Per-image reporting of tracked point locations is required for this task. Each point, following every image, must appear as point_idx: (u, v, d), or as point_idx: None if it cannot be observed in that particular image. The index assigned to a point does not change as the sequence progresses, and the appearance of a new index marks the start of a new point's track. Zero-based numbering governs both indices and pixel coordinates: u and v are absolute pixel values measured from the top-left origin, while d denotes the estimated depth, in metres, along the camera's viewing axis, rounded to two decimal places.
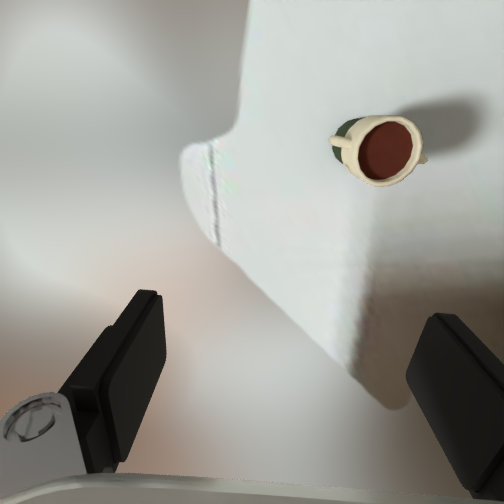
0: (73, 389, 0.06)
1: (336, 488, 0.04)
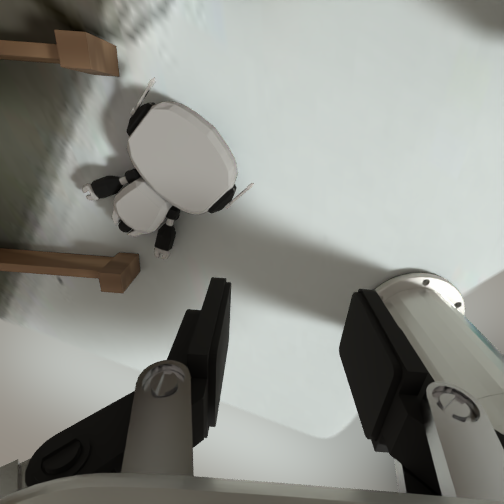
0: (189, 357, 0.07)
1: (336, 488, 0.04)
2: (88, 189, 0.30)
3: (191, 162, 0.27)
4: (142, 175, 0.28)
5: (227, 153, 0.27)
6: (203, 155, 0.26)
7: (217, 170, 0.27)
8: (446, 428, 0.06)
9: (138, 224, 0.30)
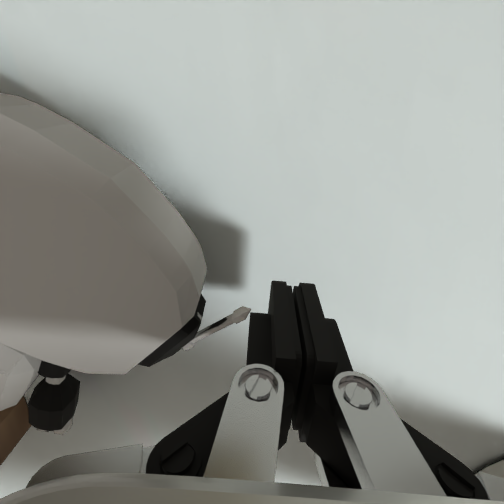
0: (277, 361, 0.07)
1: (336, 488, 0.04)
2: None
3: (63, 272, 0.09)
4: None
5: (171, 240, 0.09)
6: (95, 254, 0.09)
7: (145, 288, 0.09)
8: (357, 424, 0.06)
9: None
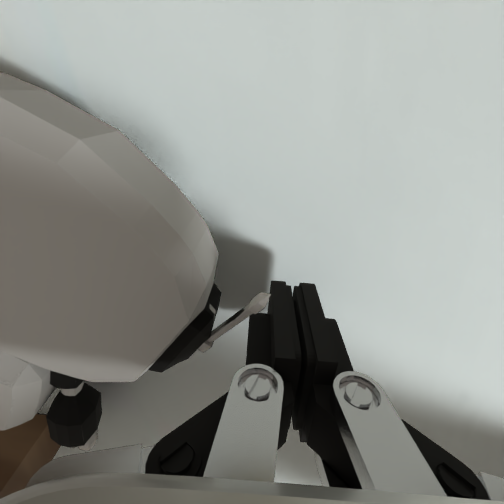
0: (276, 361, 0.07)
1: (336, 488, 0.04)
2: None
3: (46, 262, 0.08)
4: None
5: (163, 213, 0.08)
6: (75, 236, 0.07)
7: (138, 275, 0.08)
8: (357, 424, 0.06)
9: None
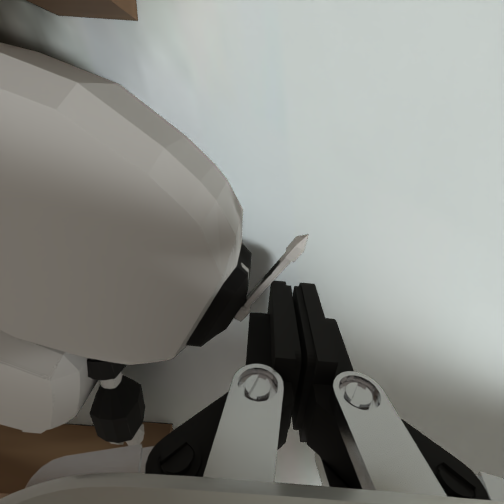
0: (276, 361, 0.07)
1: (336, 488, 0.04)
2: None
3: (63, 232, 0.07)
4: None
5: (178, 158, 0.07)
6: (88, 195, 0.07)
7: (161, 231, 0.07)
8: (357, 424, 0.06)
9: (22, 420, 0.11)
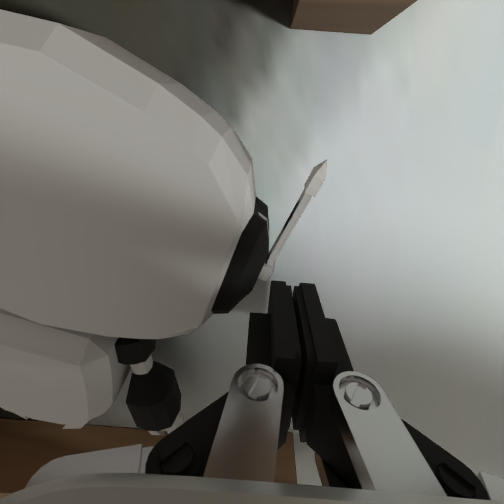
0: (276, 361, 0.07)
1: (336, 488, 0.04)
2: None
3: (67, 196, 0.07)
4: None
5: (174, 95, 0.06)
6: (87, 147, 0.06)
7: (167, 178, 0.06)
8: (357, 424, 0.06)
9: (60, 413, 0.11)
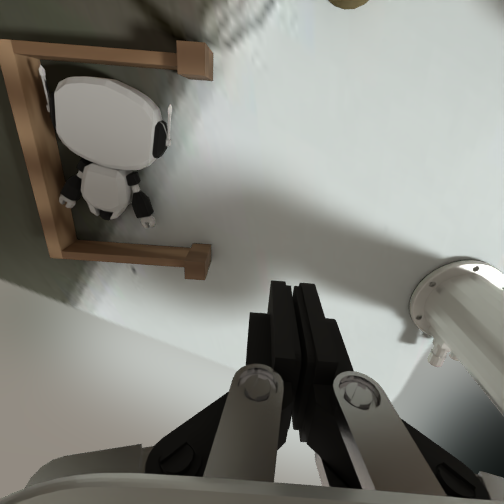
0: (276, 361, 0.07)
1: (336, 488, 0.04)
2: (62, 198, 0.34)
3: (110, 119, 0.28)
4: (86, 157, 0.30)
5: (133, 92, 0.28)
6: (114, 106, 0.28)
7: (133, 111, 0.28)
8: (357, 424, 0.06)
9: (109, 203, 0.32)
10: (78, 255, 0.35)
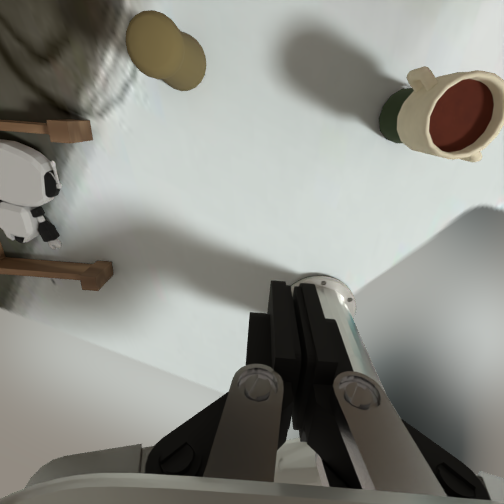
0: (276, 361, 0.07)
1: (336, 488, 0.04)
2: None
3: (9, 171, 0.38)
4: None
5: (24, 151, 0.37)
6: (11, 162, 0.37)
7: (25, 166, 0.37)
8: (357, 424, 0.06)
9: (19, 231, 0.42)
10: (1, 270, 0.45)
